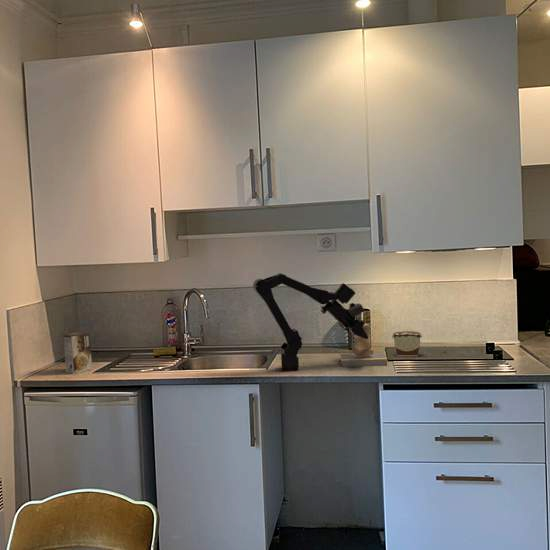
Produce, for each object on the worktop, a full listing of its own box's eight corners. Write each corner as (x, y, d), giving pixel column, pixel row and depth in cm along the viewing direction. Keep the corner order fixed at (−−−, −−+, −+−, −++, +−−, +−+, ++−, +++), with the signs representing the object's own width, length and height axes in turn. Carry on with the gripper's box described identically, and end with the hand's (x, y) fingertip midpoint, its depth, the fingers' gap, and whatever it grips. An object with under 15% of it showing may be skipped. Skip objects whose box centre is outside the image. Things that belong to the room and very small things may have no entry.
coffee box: (84, 368, 264) (81, 331, 263) (92, 369, 260) (90, 332, 259) (65, 372, 257) (62, 334, 256) (73, 374, 253) (71, 335, 252)
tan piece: (357, 355, 246) (357, 326, 245) (352, 352, 253) (351, 323, 252) (373, 354, 247) (372, 325, 246) (367, 351, 254) (366, 322, 253)
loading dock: (342, 366, 245) (341, 360, 244) (340, 359, 257) (340, 353, 257) (387, 365, 243) (386, 358, 243) (383, 358, 256) (383, 352, 256)
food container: (422, 353, 262) (422, 330, 262) (422, 356, 256) (421, 333, 256) (393, 353, 266) (393, 330, 265) (392, 356, 260) (392, 333, 259)
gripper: (359, 299, 239) (386, 325, 241) (344, 295, 257) (370, 319, 260) (340, 321, 238) (368, 346, 240) (327, 315, 256) (353, 339, 259)
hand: (365, 337), depth 250 cm, fingers closed on tan piece, 5 cm apart
